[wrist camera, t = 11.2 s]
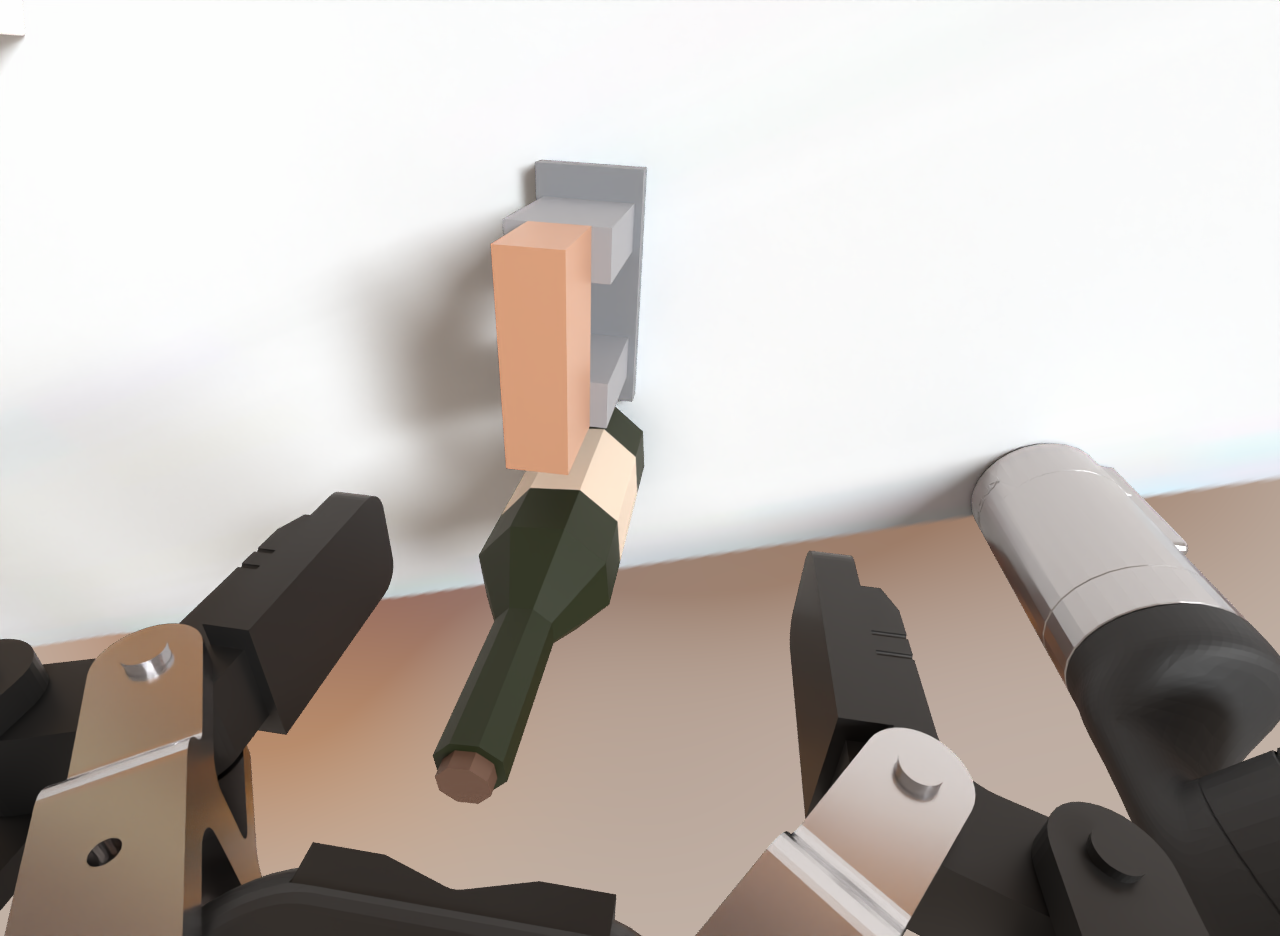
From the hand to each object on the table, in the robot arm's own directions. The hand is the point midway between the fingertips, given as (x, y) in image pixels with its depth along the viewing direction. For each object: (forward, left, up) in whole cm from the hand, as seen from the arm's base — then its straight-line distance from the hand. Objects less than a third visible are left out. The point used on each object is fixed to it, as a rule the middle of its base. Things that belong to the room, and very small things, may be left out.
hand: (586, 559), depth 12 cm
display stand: (+7, +5, -36) cm, 37 cm away
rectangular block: (+7, +5, -26) cm, 27 cm away
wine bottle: (+6, +18, -36) cm, 41 cm away
